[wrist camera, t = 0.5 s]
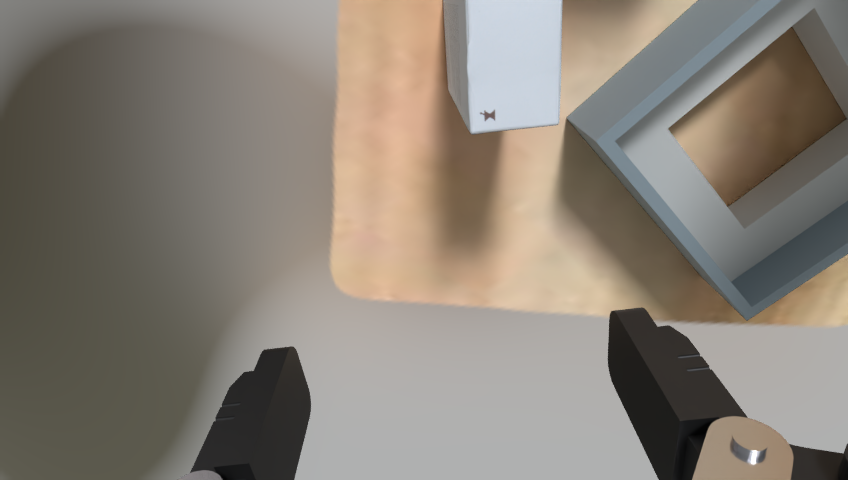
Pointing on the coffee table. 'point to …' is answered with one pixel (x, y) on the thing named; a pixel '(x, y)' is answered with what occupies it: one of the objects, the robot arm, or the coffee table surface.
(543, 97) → the skincare box
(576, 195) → the coffee table surface
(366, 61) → the coffee table surface
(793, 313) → the coffee table surface
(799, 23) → the bore box
